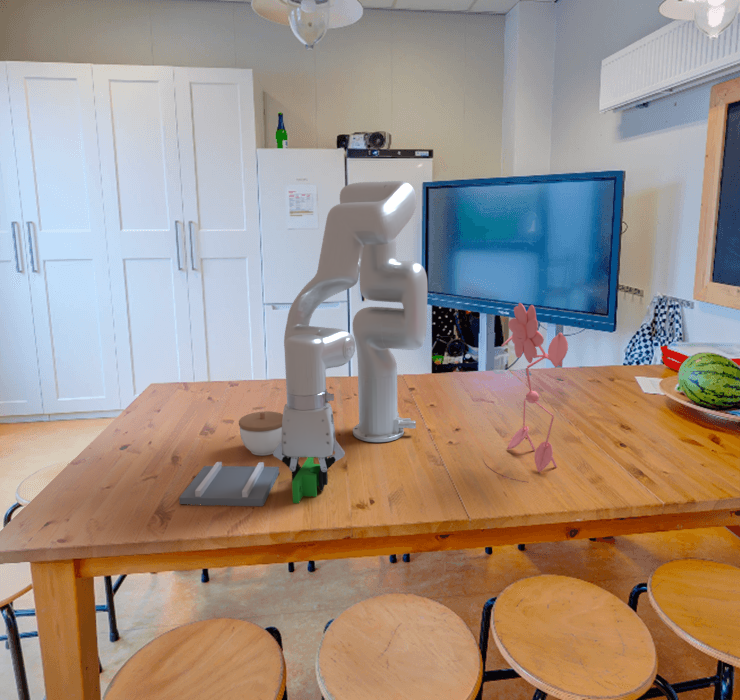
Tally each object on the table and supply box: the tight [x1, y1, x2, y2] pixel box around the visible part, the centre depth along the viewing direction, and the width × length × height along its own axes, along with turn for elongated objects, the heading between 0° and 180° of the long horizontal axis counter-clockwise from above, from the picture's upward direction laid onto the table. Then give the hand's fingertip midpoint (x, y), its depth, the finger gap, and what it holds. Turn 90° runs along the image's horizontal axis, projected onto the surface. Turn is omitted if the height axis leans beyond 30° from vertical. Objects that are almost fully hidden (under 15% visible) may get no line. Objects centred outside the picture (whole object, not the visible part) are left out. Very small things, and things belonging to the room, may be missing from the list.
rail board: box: [178, 461, 280, 507], centre depth 115 cm, size 16×14×3 cm
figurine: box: [483, 302, 569, 483], centre depth 121 cm, size 15×26×35 cm, turn 13°
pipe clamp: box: [291, 457, 320, 504], centre depth 113 cm, size 11×4×5 cm, turn 170°
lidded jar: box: [238, 411, 283, 457], centre depth 132 cm, size 11×11×9 cm
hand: (310, 486), depth 114 cm, fingers closed on pipe clamp, 4 cm apart
